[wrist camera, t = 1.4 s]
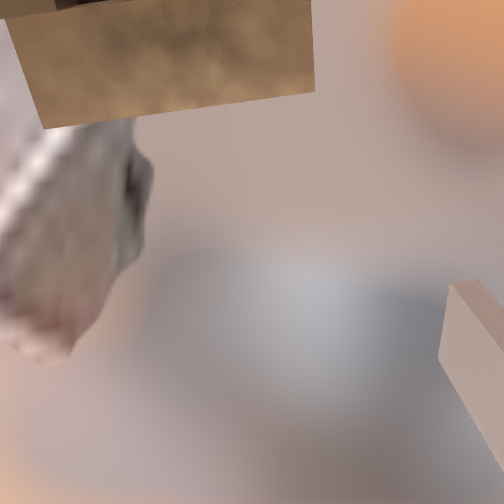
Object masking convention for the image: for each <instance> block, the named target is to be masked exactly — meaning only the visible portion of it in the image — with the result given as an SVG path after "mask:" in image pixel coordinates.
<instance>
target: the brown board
mask: <svg viewBox="0 0 504 504" xmlns="http://www.w3.org/2000/svg"><path fill="white" fill-rule="evenodd" d="M0 19H5V21H6V24H7V27H8V30H9V33H10V36H11V38H12V41H13V44H14V47H15V50H16V53H17V55H18V58H19V61H20V64H21V67H22V69H23V72H24V75H25V78H26V81H27V84H28V86H29V89H30V92H31V95H32V98H33V100H34V103H35V106H36V109H37V112H38V115H39V117H40V120H41V123H42V126H43V129H51V128H58V127H65V126H72V125H79V124H86V123H94V122H101V121H108V120H115V119H122V118H129V117H137V116H144V115H151V114H158V113H165V112H173V111H180V110H187V109H194V108H201V107H208V106H215V105H223V104H230V103H237V102H244V101H251V100H258V99H266V98H272V97H280V96H287V95H294V94H301V93H309V92H315V79H314V60H313V59H314V58H313V38H312V18H311V0H108V1H100V2H93V3H86V4H80V1H79V0H0Z"/></svg>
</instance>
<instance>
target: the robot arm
mask: <svg viewBox="0 0 504 504" xmlns="http://www.w3.org/2000/svg"><path fill="white" fill-rule="evenodd" d="M438 360H439V362H440V363H441V365H442V367H443V368H444V370H445V372H446V374H447V375H448V377H449V379H450V381H451V382H452V384H453V386H454V388H455V389H456V391H457V393H458V394H459V396H460V398H461V400H462V401H463V403H464V405H465V407H466V408H467V410H468V412H469V414H470V415H471V417H472V419H473V420H474V422H475V424H476V426H477V427H478V429H479V431H480V433H481V434H482V436H483V438H484V439H485V441H486V443H487V445H488V446H489V448H490V450H491V452H492V453H493V455H494V457H495V459H496V460H497V462H498V464H499V465H500V467H501V469H502V471H503V472H504V309H503V307H502V306H501V305H500V304H499V303H498V302H497V300H496V299H495V298H494V297H493V296H492V295H491V294H490V292H489V291H488V290H487V289H486V288H485V287H484V285H483V284H482V283H481V282H480V281H479V280H469V281H459V282H450V286H449V292H448V298H447V305H446V311H445V318H444V323H443V330H442V337H441V342H440V348H439V354H438Z"/></svg>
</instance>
